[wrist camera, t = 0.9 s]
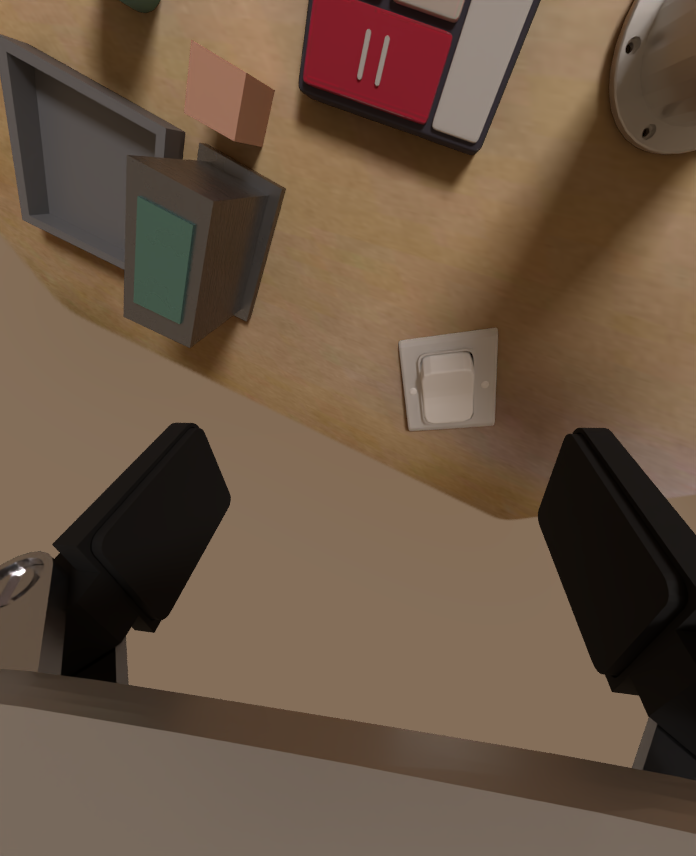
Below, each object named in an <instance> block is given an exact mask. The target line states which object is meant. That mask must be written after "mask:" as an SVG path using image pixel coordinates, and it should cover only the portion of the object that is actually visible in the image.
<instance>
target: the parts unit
mask: <svg viewBox="0 0 696 856" xmlns="http://www.w3.org/2000/svg"><path fill="white" fill-rule="evenodd" d="M285 190H286V188H284V187H282V186H280V185H278V184H277V183H275V182H273V181H271V180H270V179H268V178H266V177H264V176H262V175H261V174H259V173H257V172H255V171H254V170H252V169H250V168H248V167H246V166H245V165H243V164H241V163H239V162H238V161H236V160H234V159H232V158H230V157H229V156H227V155H225V154H223V153H222V152H220V151H218V150H216V149H214V148H213V147H211V146H209V145H207V144H204V143H199V150H198V158H197V161H195V160H183V159H171V158H159V157H147V156H135V155H127V164H126V217H125V270H124V317H125V318H127V319H130V320H132V321H134V322H136V323H138V324H140V325H142V326H144V327H147V328H149V329H151V330H153V331H155V332H157V333H159V334H161V335H163V336H166V337H168V338H170V339H172V340H174V341H176V342H178V343H180V344H182V345H185V346H187V347H189V348H191V347H192V346H193V345H194V344H196V343H197V342H198V341H200V340H201V339H202V338H204V337H205V336H206V335H208V334H209V333H210V332H212V331H213V330H214V329H216V328H217V327H218V326H220V325H221V324H222V323H224V322H225V321H226V320H228V319H229V318H230V317H232V316H233V315H234V316H236V317H238V318H241V319H243V320H245V321H248V320H249V319H250V318H251V315H252V311H253V307H254V304H255V300H256V296H257V293H258V289H259V285H260V282H261V278H262V274H263V271H264V267H265V263H266V260H267V256H268V252H269V249H270V245H271V241H272V238H273V234H274V230H275V227H276V223H277V219H278V216H279V212H280V208H281V205H282V201H283V197H284V194H285Z"/></svg>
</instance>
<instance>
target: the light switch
mask: <svg viewBox="0 0 696 856" xmlns="http://www.w3.org/2000/svg"><path fill="white" fill-rule="evenodd" d="M398 345H399V354H400V363H401V371H402V380H403V388H404V397H405V405H406V414H407V422H408V429H409V431H421V430H436V429H452V428H467V427H483V426H493V425H494V423H495V404H496V378H497V352H498V329H497V328H489V329H482V330H474V331H467V332H459V333H452V334H445V335H437V336H430V337H423V338H415V339H408V340H401V341H399V343H398ZM466 351H468V352H466ZM470 352H471V353H472V355H473V358H472V356H471V354H470ZM422 358H423V359H422ZM421 359H422V361H421ZM420 362H421V364H420Z"/></svg>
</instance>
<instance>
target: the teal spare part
mask: <svg viewBox="0 0 696 856" xmlns="http://www.w3.org/2000/svg"><path fill="white" fill-rule="evenodd" d="M119 1H121V2H123V3H124V4H126V5H128V6H129V7H131V8H132V9H134V10H136V11H138V12H143V13H146V12H150V11H152V10H154V9H155V8H156V6H157V5H158V4H159V2H160V0H119Z"/></svg>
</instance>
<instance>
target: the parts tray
mask: <svg viewBox="0 0 696 856" xmlns="http://www.w3.org/2000/svg"><path fill="white" fill-rule="evenodd" d="M0 76H1V83H2V89H3V96H4V102H5V109H6V115H7V122H8V128H9V135H10V141H11V148H12V155H13V161H14V168H15V174H16V181H17V187H18V194H19V200H20V207H21V213H22V220H24V221H26V222H28V223H30V224H32V225H34V226H36V227H38V228H40V229H42V230H44V231H46V232H48V233H50V234H52V235H54V236H56V237H59V238H61V239H63V240H65V241H67V242H69V243H71V244H73V245H75V246H77V247H79V248H81V249H83V250H85V251H87V252H89V253H91V254H93V255H95V256H97V257H99V258H101V259H103V260H105V261H107V262H109V263H111V264H113V265H115V266H117V267H120V268H122V269H124V270H125V217H126V164H127V155H135V156H147V157H159V158H171V159H182V158H183V148H184V139H185V132H184V131H182V130H181V129H179V128H177V127H175V126H173V125H172V124H170V123H168V122H166V121H165V120H163V119H161V118H159V117H157V116H156V115H154V114H152V113H150V112H149V111H147V110H145V109H143V108H141V107H140V106H138V105H136V104H134V103H133V102H131V101H129V100H127V99H125V98H124V97H122V96H120V95H118V94H117V93H115V92H113V91H111V90H109V89H108V88H106V87H104V86H102V85H100V84H99V83H97V82H95V81H93V80H92V79H90V78H88V77H86V76H84V75H83V74H81V73H79V72H77V71H76V70H74V69H72V68H70V67H68V66H67V65H65V64H63V63H61V62H60V61H58V60H56V59H54V58H52V57H51V56H49V55H47V54H45V53H44V52H42V51H40V50H38V49H36V48H35V47H33V46H31V45H29V44H27V43H24V42H21V41H18V40H15V39H13V38H10V37H7V36H4V35H1V34H0Z"/></svg>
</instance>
